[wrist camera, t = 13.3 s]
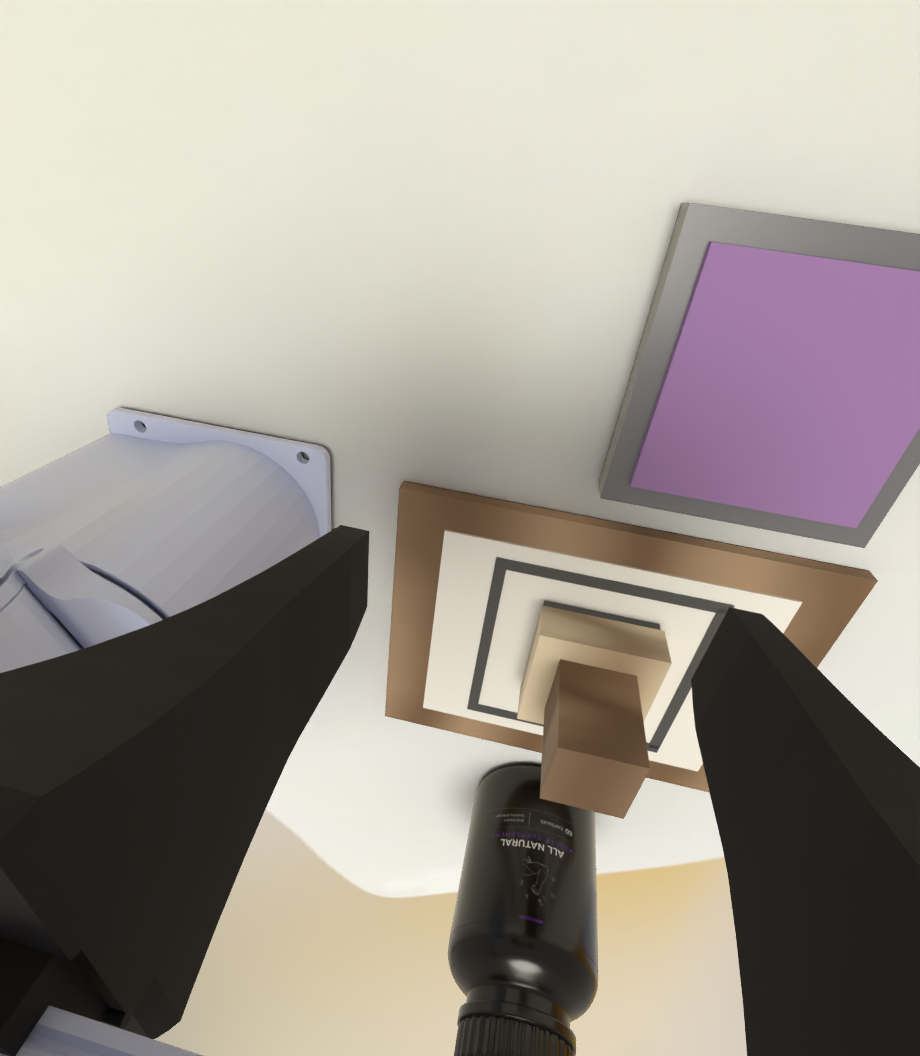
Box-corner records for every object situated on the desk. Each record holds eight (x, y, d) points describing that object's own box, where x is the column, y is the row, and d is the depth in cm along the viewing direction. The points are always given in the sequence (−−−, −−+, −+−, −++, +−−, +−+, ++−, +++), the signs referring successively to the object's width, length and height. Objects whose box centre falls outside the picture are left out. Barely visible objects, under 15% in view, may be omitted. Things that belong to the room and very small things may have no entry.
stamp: (521, 678, 25) (507, 807, 19) (542, 598, 22) (533, 720, 17) (627, 702, 24) (643, 840, 19) (662, 622, 22) (692, 757, 16)
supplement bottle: (555, 747, 28) (546, 1052, 18) (615, 819, 30) (637, 1125, 20) (453, 775, 31) (395, 1050, 21) (514, 838, 33) (489, 1114, 23)
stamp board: (388, 707, 29) (384, 718, 28) (403, 481, 21) (398, 489, 20) (723, 785, 27) (727, 799, 26) (869, 571, 19) (879, 583, 19)
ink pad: (599, 483, 20) (600, 501, 18) (681, 203, 15) (692, 202, 14) (848, 529, 19) (868, 552, 18) (1022, 249, 14) (1067, 253, 13)
